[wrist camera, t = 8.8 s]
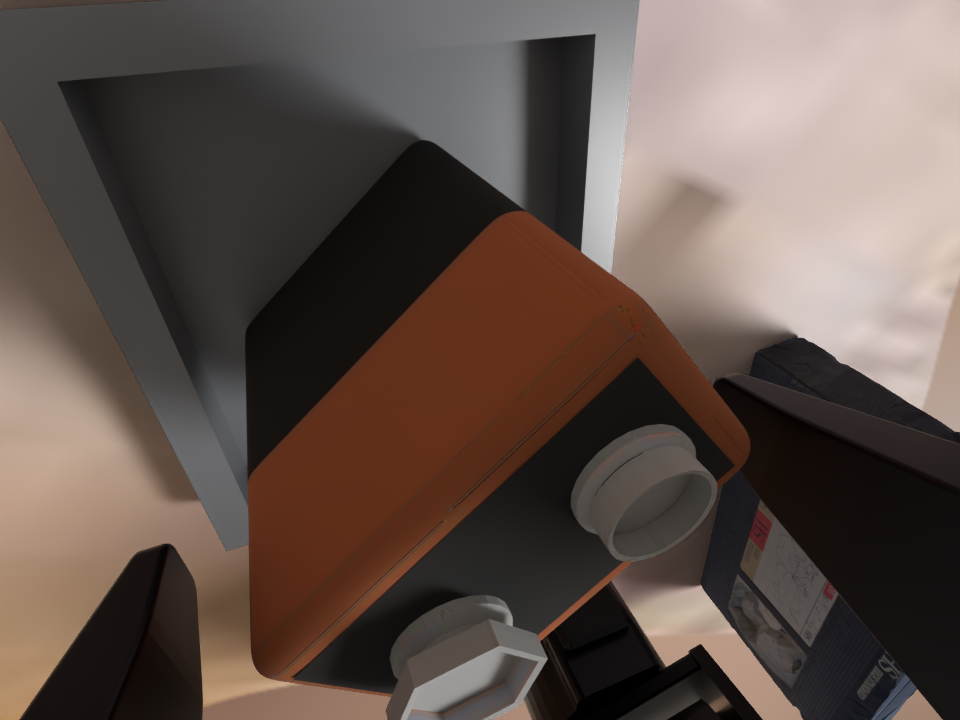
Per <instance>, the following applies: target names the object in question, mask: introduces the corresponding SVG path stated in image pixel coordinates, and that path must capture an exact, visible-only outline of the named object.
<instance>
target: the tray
mask: <svg viewBox="0 0 960 720" xmlns="http://www.w3.org/2000/svg"><path fill="white" fill-rule="evenodd" d="M638 10H639V0H164V1H147V2H129V3H111V4H94V5H76V6H59V7H41V8H23V9H6V10H0V118H1V120H2V122H3V124H4V126H5V128H6V130H7V131H8V133H9V135H10V137H11V139H12V141H13V143H14V145H15V147H16V149H17V151H18V153H19V154H20V156H21V158H22V160H23V162H24V164H25V166H26V168H27V170H28V172H29V174H30V176H31V177H32V179H33V181H34V183H35V185H36V187H37V189H38V191H39V193H40V195H41V197H42V199H43V200H44V202H45V204H46V206H47V208H48V210H49V212H50V214H51V216H52V218H53V220H54V222H55V223H56V225H57V227H58V229H59V231H60V233H61V235H62V237H63V239H64V241H65V243H66V245H67V247H68V248H69V250H70V252H71V254H72V256H73V258H74V260H75V262H76V264H77V266H78V268H79V270H80V271H81V273H82V275H83V277H84V279H85V281H86V283H87V285H88V287H89V289H90V291H91V293H92V294H93V296H94V298H95V300H96V302H97V304H98V306H99V308H100V310H101V312H102V314H103V316H104V317H105V319H106V321H107V323H108V325H109V327H110V329H111V331H112V333H113V335H114V337H115V339H116V340H117V342H118V344H119V346H120V348H121V350H122V352H123V354H124V356H125V358H126V360H127V362H128V363H129V365H130V367H131V369H132V371H133V373H134V375H135V377H136V379H137V381H138V383H139V385H140V387H141V388H142V390H143V392H144V394H145V396H146V398H147V400H148V402H149V404H150V406H151V408H152V410H153V411H154V413H155V415H156V417H157V419H158V421H159V423H160V425H161V427H162V429H163V431H164V433H165V434H166V436H167V438H168V440H169V442H170V444H171V446H172V448H173V450H174V452H175V454H176V456H177V457H178V459H179V461H180V463H181V465H182V467H183V469H184V471H185V473H186V475H187V477H188V479H189V480H190V482H191V484H192V486H193V488H194V490H195V492H196V494H197V496H198V498H199V500H200V502H201V504H202V505H203V507H204V509H205V511H206V513H207V515H208V517H209V519H210V521H211V523H212V525H213V527H214V528H215V530H216V532H217V534H218V536H219V538H220V540H221V542H222V544H223V546H224V548H225V550H226V551H229V550H232V549H235V548H238V547H242V546H245V545H248V544H249V527H248V474H247V422H246V370H245V333H246V329H247V327H248V325H249V324H250V323H251V322H252V320H253V319H254V318H255V317H256V316H257V315H258V313H259V312H260V311H261V310H262V309H263V308H264V307H265V305H266V304H267V303H268V302H269V301H270V300H271V299H272V298H273V297H274V295H275V294H276V293H277V292H278V291H279V290H280V289H281V288H282V286H283V285H284V284H285V283H286V282H287V281H288V280H289V279H290V278H291V276H292V275H293V274H294V273H295V272H296V271H297V270H298V269H299V268H300V266H301V265H302V264H303V263H304V262H305V261H306V260H307V259H308V257H309V256H310V255H311V254H312V253H313V252H314V251H315V250H316V249H317V247H318V246H319V245H320V244H321V243H322V242H323V241H324V240H325V238H326V237H327V236H328V235H329V234H330V233H331V232H332V231H333V230H334V228H335V227H336V226H337V225H338V224H339V223H340V222H341V221H342V220H343V218H344V217H345V216H346V215H347V214H348V213H349V212H350V211H351V209H352V208H353V207H354V206H355V205H356V204H357V203H358V202H359V201H360V199H361V198H362V197H363V196H364V195H365V194H366V193H367V192H368V191H369V189H370V188H371V187H372V186H373V185H374V184H375V183H376V182H377V180H378V179H379V178H380V177H381V176H382V175H383V174H384V173H385V172H386V170H387V169H388V168H389V167H390V166H391V165H392V164H393V163H394V162H395V161H396V159H397V158H398V157H399V156H400V155H401V154H402V153H403V152H404V151H405V150H406V149H407V148H408V147H409V146H410V145H412V144H413V143H415V142H417V141H421V140H427V141H431V142H433V143H435V144H437V145H438V146H440V147H441V148H442V149H444V150H445V151H446V152H448V153H449V154H450V155H452V156H453V157H454V158H456V159H457V160H458V161H460V162H461V163H463V164H464V165H465V166H467V167H468V168H469V169H471V170H472V171H473V172H475V173H476V174H477V175H479V176H480V177H481V178H483V179H484V180H485V181H487V182H488V183H489V184H491V185H492V186H493V187H495V188H496V189H497V190H499V191H500V192H501V193H503V194H504V195H505V196H507V197H508V198H509V199H511V200H512V201H513V202H515V203H516V204H517V205H519V206H520V207H521V208H523V209H524V210H525V211H527V212H528V213H529V214H531V215H532V216H534V217H535V218H536V219H538V220H539V221H540V222H542V223H543V224H544V225H546V226H547V227H548V228H550V229H551V230H552V231H554V232H555V233H556V234H558V235H559V236H560V237H562V238H563V239H564V240H566V241H567V242H568V243H570V244H571V245H572V246H574V247H575V248H576V249H578V250H579V251H580V252H582V253H583V254H584V255H586V256H587V257H588V258H590V259H591V260H592V261H594V262H595V263H596V264H598V265H599V266H601V267H602V268H603V269H605V270H606V271H607V272H609V273H610V274H611V269H612V260H613V250H614V241H615V231H616V221H617V212H618V202H619V192H620V183H621V173H622V164H623V154H624V144H625V135H626V125H627V115H628V106H629V96H630V87H631V77H632V67H633V58H634V48H635V39H636V29H637V19H638Z"/></svg>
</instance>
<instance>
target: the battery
mask: <svg viewBox="0 0 960 720" xmlns="http://www.w3.org/2000/svg"><path fill="white" fill-rule="evenodd" d="M245 370H246V422H247V474H248V527H249V579H250V631H251V654H252V660H253V663H254V666H255V668H256V669H257V671H258V672H259V673H260V674H261V675H263V676H264V677H266V678H269V679H273V680H278V681H284V682H291V683H297V684H304V685H311V686H318V687H325V688H332V689H340V690H346V691H354V692H360V693H368V694H374V695H381V696H388V697H391V699H390V701H389V704H388V706H387V708H386V713H387V718H388V720H493V719H495V718H497V717H499V716H501V715H502V714H504V713H506V712H508V711H510V710H512V709H514V708H516V707H518V706H519V705H520V703H521V702H522V700H523V699H524V697H525V695H526V694H527V692H528V691H529V689H530V687H531V686H532V684H533V682H534V681H535V679H536V677H537V676H538V674H539V672H540V671H541V669H542V668H543V666H544V664H545V663H546V661H547V659H548V658H547V656H546V654H545V651H544V649H543V647H542V645H541V643H540V641H541V640H542V639H543V638H544V637H546V636H547V635H548V634H549V633H550V632H551V631H553V630H554V629H555V628H556V627H557V626H559V625H560V624H561V623H562V622H563V621H564V620H566V619H567V618H568V617H569V616H570V615H571V614H573V613H574V612H575V611H576V610H577V609H578V608H580V607H581V606H582V605H583V604H584V603H585V602H587V601H588V600H589V599H590V598H591V597H592V596H594V595H595V594H596V593H597V592H598V591H599V590H601V589H602V588H603V587H604V586H605V585H606V584H608V583H609V582H610V581H611V580H612V579H614V578H615V577H616V576H617V575H618V574H619V573H621V572H622V571H623V570H624V569H625V568H626V567H628V566H629V565H630V564H631V563H632V562H637V561H642V560H646V559H650V558H652V557H654V556H657V555H659V554H662V553H664V552H665V551H667V550H669V549H671V548H672V547H674V546H676V545H677V544H678V543H680V542H681V541H682V540H684V539H685V538H686V537H688V536H689V535H690V534H691V533H692V532H693V531H694V530H695V529H696V528H697V527H698V526H699V525H700V524H701V523H702V521H703V520H704V519H705V518H706V516H707V515H708V514H709V512H710V510H711V508H712V507H713V505H714V503H715V499H716V496H717V493H718V491H717V489H719V488H720V487H721V486H722V485H723V484H724V483H726V482H727V481H728V480H729V479H730V478H731V477H732V476H733V475H734V474H735V473H736V472H737V471H738V470H739V469H740V468H741V467H742V466H743V465H744V463H745V462H746V460H747V458H748V456H749V453H750V439H749V436H748V433H747V432H746V430H745V428H744V427H743V425H742V424H741V423H740V421H739V420H738V419H737V417H736V416H735V415H734V413H733V412H732V411H731V410H730V408H729V407H728V406H727V404H726V403H725V402H724V401H723V399H722V398H721V397H720V395H719V394H718V393H717V392H716V390H715V389H714V388H713V386H712V385H711V384H710V383H709V381H708V380H707V379H706V377H705V376H704V375H703V374H702V372H701V371H700V370H699V368H698V367H697V366H696V365H695V363H694V362H693V361H692V359H691V358H690V357H689V356H688V354H687V353H686V352H685V350H684V349H683V348H682V347H681V345H680V344H679V343H678V341H677V340H676V339H675V338H674V336H673V335H672V334H671V332H670V331H669V330H668V329H667V327H666V326H665V325H664V323H663V322H662V321H661V320H660V318H659V317H658V316H657V314H656V313H655V312H654V311H653V310H652V308H651V307H650V306H649V305H648V304H647V303H646V302H645V301H644V300H643V299H642V298H641V297H640V296H639V295H638V294H636V293H635V292H634V291H633V290H631V289H630V288H629V287H627V286H626V285H625V284H623V283H622V282H621V281H619V280H618V279H617V278H615V277H614V276H613V275H611V274H610V273H609V272H607V271H606V270H605V269H603V268H602V267H601V266H599V265H598V264H596V263H595V262H594V261H592V260H591V259H590V258H588V257H587V256H586V255H584V254H583V253H582V252H580V251H579V250H578V249H576V248H575V247H574V246H572V245H571V244H570V243H568V242H567V241H566V240H564V239H563V238H562V237H560V236H559V235H558V234H556V233H555V232H554V231H552V230H551V229H550V228H548V227H547V226H546V225H544V224H543V223H542V222H540V221H539V220H538V219H536V218H535V217H534V216H532V215H531V214H529V213H528V212H527V211H525V210H524V209H523V208H521V207H520V206H519V205H517V204H516V203H515V202H513V201H512V200H511V199H509V198H508V197H507V196H505V195H504V194H503V193H501V192H500V191H499V190H497V189H496V188H495V187H493V186H492V185H491V184H489V183H488V182H487V181H485V180H484V179H483V178H481V177H480V176H479V175H477V174H476V173H475V172H473V171H472V170H471V169H469V168H468V167H467V166H465V165H464V164H463V163H461V162H460V161H458V160H457V159H456V158H454V157H453V156H452V155H450V154H449V153H448V152H446V151H445V150H444V149H442V148H441V147H440V146H438V145H437V144H435V143H433V142H431V141H427V140H421V141H417V142H415V143H413V144H412V145H410V146H409V147H408V148H407V149H406V150H405V151H404V152H403V153H402V154H401V155H400V156H399V157H398V158H397V159H396V161H395V162H394V163H393V164H392V165H391V166H390V167H389V168H388V169H387V170H386V172H385V173H384V174H383V175H382V176H381V177H380V178H379V179H378V180H377V182H376V183H375V184H374V185H373V186H372V187H371V188H370V189H369V191H368V192H367V193H366V194H365V195H364V196H363V197H362V198H361V199H360V201H359V202H358V203H357V204H356V205H355V206H354V207H353V208H352V209H351V211H350V212H349V213H348V214H347V215H346V216H345V217H344V218H343V220H342V221H341V222H340V223H339V224H338V225H337V226H336V227H335V228H334V230H333V231H332V232H331V233H330V234H329V235H328V236H327V237H326V238H325V240H324V241H323V242H322V243H321V244H320V245H319V246H318V247H317V249H316V250H315V251H314V252H313V253H312V254H311V255H310V256H309V257H308V259H307V260H306V261H305V262H304V263H303V264H302V265H301V266H300V268H299V269H298V270H297V271H296V272H295V273H294V274H293V275H292V276H291V278H290V279H289V280H288V281H287V282H286V283H285V284H284V285H283V286H282V288H281V289H280V290H279V291H278V292H277V293H276V294H275V295H274V297H273V298H272V299H271V300H270V301H269V302H268V303H267V304H266V305H265V307H264V308H263V309H262V310H261V311H260V312H259V313H258V315H257V316H256V317H255V318H254V319H253V320H252V322H251V323H250V324H249V325H248V327H247V329H246V333H245Z"/></svg>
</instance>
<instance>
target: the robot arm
mask: <svg viewBox="0 0 960 720" xmlns="http://www.w3.org/2000/svg"><path fill="white" fill-rule="evenodd" d="M713 388H714V389H715V390H716V392H717V393H718V394H719V395H720V397H721V398H722V399H723V401H724V402H725V403H726V404H727V406H728V407H729V408H730V410H731V411H732V412H733V413H734V415H735V416H736V417H737V419H738V420H739V421H740V423H741V424H742V425H743V427H744V428H745V430H746V432H747V433H748V436H749V439H750V453H749V456H748V458H747V460H746V462H745V463H744V465H743V466H742V467H741V468H740V469H739V470H740V472H741V473H742V475H743V476H744V478H745V479H746V480H747V482H748V483H749V485H750V486H751V488H752V489H753V490H754V492H755V493H756V494H757V496H758V497H759V498H760V499H761V501H762V502H763V503H764V505H765V506H766V507H767V508H768V509H769V511H770V512H771V513H772V514H773V515H774V517H775V518H776V519H777V520H778V521H779V523H780V524H781V525H782V526H783V527H784V529H785V530H786V531H787V532H788V534H789V535H790V536H791V537H792V538H793V540H794V541H795V542H796V543H797V544H798V546H799V547H800V548H801V549H802V550H803V552H804V553H805V554H806V555H807V556H808V558H809V559H810V560H811V561H812V562H813V564H814V565H815V566H816V567H817V568H818V570H819V571H820V572H821V573H822V575H823V576H824V577H825V578H826V579H827V581H828V582H829V583H830V584H831V585H832V587H833V588H834V589H835V590H836V591H837V593H838V594H839V595H840V596H841V597H842V599H843V600H844V601H845V602H846V603H847V605H848V606H849V607H850V608H851V609H852V611H853V612H854V613H855V614H856V616H857V617H858V618H859V619H860V620H861V622H862V623H863V624H864V625H865V626H866V628H867V629H868V630H869V631H870V632H871V634H872V635H873V636H874V637H875V638H876V640H877V641H878V642H879V643H880V644H881V646H882V647H883V648H884V649H885V651H886V652H887V653H888V654H889V655H890V657H891V658H892V659H893V660H894V661H895V663H896V664H897V665H898V666H899V667H900V669H901V670H902V671H903V672H904V673H905V675H906V676H907V677H908V678H909V679H910V681H911V682H912V683H913V684H914V685H915V687H916V688H917V689H918V690H919V692H920V693H921V694H922V695H923V696H924V697H925V698H926V700H927V701H928V702H929V704H930V705H931V706H932V707H933V708H934V710H935V711H936V712H937V713H938V714H939V716H940V717H941V718H942V719H943V720H960V444H958V443H955V442H952V441H949V440H946V439H942V438H939V437H936V436H933V435H930V434H927V433H924V432H921V431H918V430H915V429H912V428H908V427H905V426H902V425H899V424H896V423H893V422H890V421H887V420H884V419H881V418H878V417H874V416H871V415H868V414H865V413H862V412H859V411H856V410H853V409H850V408H847V407H844V406H840V405H837V404H834V403H831V402H828V401H825V400H822V399H819V398H816V397H813V396H810V395H807V394H803V393H800V392H797V391H794V390H791V389H788V388H785V387H782V386H779V385H776V384H773V383H769V382H766V381H763V380H760V379H757V378H754V377H751V376H748V375H745V374H741V373H733V374H729V375H726V376H723V377H719V378H718V379H716V381H715V382H714V384H713ZM540 643H541V645H542V647H543V649H544V651H545V654H546V656H547V658H548V659H547V661H546V663H545V664H544V666H543V668H542V669H541V671H540V672H539V674H538V676H537V677H536V679H535V681H534V682H533V684H532V686H531V687H530V689H529V691H528V692H527V694H526V695H525V697H524V702H525V704H526V707H527V709H528V711H529V714H530V717H531V719H532V720H762V718H761V717H760V716H759V714H757V712H756V711H755V710H754V708H753V707H752V706H751V705H750V704H749V702H748V701H747V700H746V699H745V697H744V696H743V695H742V694H741V692H740V691H739V690H738V689H737V688H736V686H735V685H734V684H733V683H732V681H731V680H730V679H729V678H728V677H727V675H726V674H725V673H724V672H723V670H722V669H721V668H720V667H719V666H718V664H717V663H716V662H715V661H714V660H713V658H712V657H711V656H710V655H709V653H708V652H707V651H706V650H705V648H704V647H703V646H702V645H701V644H699V645H698V646H696V647H694V648H693V649H691V650H689V654H688V655H686V656H685V657H683V658H681V659H680V660H678V661H676V662H675V663H673V664H671V665H669V666H668V667H666V666H665V664H664V663H663V661H662V660H661V658H660V657H659V655H658V653H657V652H656V650H655V649H654V647H653V646H652V644H651V642H650V641H649V639H648V638H647V636H646V635H645V633H644V631H643V630H642V628H641V627H640V625H639V624H638V622H637V620H636V619H635V617H634V616H633V614H632V613H631V611H630V610H629V608H628V606H627V605H626V603H625V602H624V600H623V599H622V597H621V595H620V594H619V592H618V591H617V589H616V588H615V586H614V584H613V583H612V581H610V582H609V583H608V584H606V585H605V586H604V587H603V588H602V589H601V590H599V591H598V592H597V593H596V594H595V595H594V596H592V597H591V598H590V599H589V600H588V601H587V602H585V603H584V604H583V605H582V606H581V607H580V608H578V609H577V610H576V611H575V612H574V613H573V614H571V615H570V616H569V617H568V618H567V619H566V620H564V621H563V622H562V623H561V624H560V625H559V626H557V627H556V628H555V629H554V630H553V631H551V632H550V633H549V634H548V635H547V636H546V637H544V638H543V639H542V640H541V641H540ZM202 713H203V692H202V673H201V656H200V640H199V624H198V608H197V593H196V586H195V582H194V579H193V577H192V575H191V573H190V572H189V570H188V568H187V567H186V565H185V564H184V562H183V560H182V559H181V557H180V555H179V554H178V552H177V550H176V549H175V548H174V546H172V545H171V544H162V545H158V546H155V547H152V548H148V549H145V550H142V551H139V552H138V553H136V554H135V555H134V556H133V557H132V558H131V560H130V561H129V563H128V564H127V566H126V567H125V568H124V570H123V571H122V573H121V574H120V576H119V577H118V578H117V580H116V581H115V583H114V584H113V586H112V587H111V589H110V590H109V591H108V593H107V594H106V596H105V597H104V599H103V600H102V601H101V603H100V604H99V606H98V607H97V609H96V610H95V612H94V613H93V614H92V616H91V617H90V619H89V620H88V622H87V623H86V624H85V626H84V627H83V629H82V630H81V632H80V633H79V634H78V636H77V637H76V639H75V640H74V642H73V643H72V645H71V646H70V647H69V649H68V650H67V652H66V653H65V655H64V656H63V657H62V659H61V660H60V662H59V663H58V665H57V666H56V668H55V669H54V670H53V672H52V673H51V675H50V676H49V678H48V679H47V680H46V682H45V683H44V685H43V686H42V688H41V689H40V691H39V692H38V693H37V695H36V696H35V698H34V699H33V701H32V702H31V703H30V705H29V706H28V708H27V709H26V711H25V712H24V714H23V715H22V716H21V718H20V719H19V720H202Z"/></svg>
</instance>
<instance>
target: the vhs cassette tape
mask: <svg viewBox="0 0 960 720" xmlns="http://www.w3.org/2000/svg"><path fill="white" fill-rule="evenodd" d="M750 376H751V377H754V378H757V379H760V380H763V381H766V382H769V383H773V384H776V385H779V386H782V387H785V388H788V389H791V390H794V391H797V392H800V393H803V394H807V395H810V396H813V397H816V398H819V399H822V400H825V401H828V402H831V403H834V404H837V405H840V406H844V407H847V408H850V409H853V410H856V411H859V412H862V413H865V414H868V415H871V416H874V417H878V418H881V419H884V420H887V421H890V422H893V423H896V424H899V425H902V426H905V427H908V428H912V429H915V430H918V431H921V432H924V433H927V434H930V435H933V436H936V437H939V438H942V439H946V440H949V441H952V442H955V443H958V444H960V432H954V431H953V430H952V429H950V428H949V427H947V426H946V425H944V424H943V423H942V422H940V421H938V420H937V419H935V418H933V417H932V416H930V415H928V414H927V413H925V412H923V411H922V410H920V409H918V408H916V407H915V406H913V405H911V404H909V403H908V402H906V401H905V400H903V399H902V398H901V397H899V396H897V395H896V394H894V393H893V392H891V391H889V390H888V389H886V388H885V387H883V386H882V385H880V384H878V383H876V382H874V381H873V380H871V379H870V378H868V377H866V376H865V375H863V374H862V373H860V372H858V371H856V370H855V369H853V368H851V367H849V366H848V365H845V364H841V363H839V362H838V361H837V360H836V358H835V357H834V356H832V355H831V354H829V353H828V352H826V351H825V350H824V349H822V348H820V347H819V346H817V345H815V344H814V343H811V342H808V341H807V340H806V339H804V338H792V339H790V340H787V341H785V342H783V343H781V344H779V345H778V346H777V345H774V346H773V347H771V348H767V349H764V350H762V351H759V352H757V353H755V357H754V360H753V364H752V368H751V372H750ZM701 585H702V587H703V589H704V591H705V592H706V594H707V595H708V596H709V597H710V599H711V600H712V601H713V603H714V604H715V605H716V607H717V608H718V609H719V610H720V611H721V613H722V614H723V615H724V617H725V618H726V620H727V621H728V622H729V624H730V625H731V627H732V628H733V629H735V630H736V632H737V633H738V635H739V636H740V638H741V639H742V640H743V642H744V643H745V644H746V645H747V647H748V648H750V650H751V651H752V653H753V654H754V656H755V657H756V658H757V660H758V661H759V662H760V664H761V665H762V666H763V668H764V669H765V670H766V671H767V673H768V674H769V675H770V676H771V678H772V679H773V681H774V682H775V683H776V685H777V686H778V687H779V688H780V689H781V691H782V692H783V694H784V695H785V696H786V698H787V699H788V700H789V701H790V702H791V704H792V705H793V706H795V707H797V708H798V709H799V710H800V713H801V716H802V718H803V720H891V719H892V718H893V717H894V716H895V715H896V713H897V712H898V711H899V709H900V708H901V707H902V705H903V704H904V703H905V701H906V699H908V698H909V697H910V696H912V695H913V694H914V692H915V691H916V690H917V688H916V687H915V685H914V684H913V683H912V682H911V681H910V679H909V678H908V677H907V676H906V675H905V673H904V672H903V671H902V670H901V669H900V667H899V666H898V665H897V664H896V663H895V661H894V660H893V659H892V658H891V657H890V655H889V654H888V653H887V652H886V651H885V649H884V648H883V647H882V646H881V644H880V643H879V642H878V641H877V640H876V638H875V637H874V636H873V635H872V634H871V632H870V631H869V630H868V629H867V628H866V626H865V625H864V624H863V623H862V622H861V620H860V619H859V618H858V617H857V616H856V614H855V613H854V612H853V611H852V609H851V608H850V607H849V606H848V605H847V603H846V602H845V601H844V600H843V599H842V597H841V596H840V595H839V594H838V593H837V591H836V590H835V589H834V588H833V587H832V585H831V584H830V583H829V582H828V581H827V579H826V578H825V577H824V576H823V575H822V573H821V572H820V571H819V570H818V568H817V567H816V566H815V565H814V564H813V562H812V561H811V560H810V559H809V558H808V556H807V555H806V554H805V553H804V552H803V550H802V549H801V548H800V547H799V546H798V544H797V543H796V542H795V541H794V540H793V538H792V537H791V536H790V535H789V534H788V532H787V531H786V530H785V529H784V527H783V526H782V525H781V524H780V523H779V521H778V520H777V519H776V518H775V517H774V515H773V514H772V513H771V512H770V511H769V509H768V508H767V507H766V506H765V505H764V503H763V502H762V501H761V499H760V498H759V497H758V496H757V494H756V493H755V492H754V490H753V489H752V488H751V486H750V485H749V483H748V482H747V480H746V479H745V478H744V476H743V475H742V473H741V472H740V470H738V471H737V472H736V473H735V474H734V475H733V476H732V477H731V478H730V479H729V480H728V481H727V482H726V483H724V485H723V489H722V493H721V497H720V502H719V506H718V510H717V514H716V518H715V523H714V527H713V531H712V535H711V540H710V545H709V549H708V554H707V558H706V563H705V567H704V571H703V576H702V580H701Z"/></svg>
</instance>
